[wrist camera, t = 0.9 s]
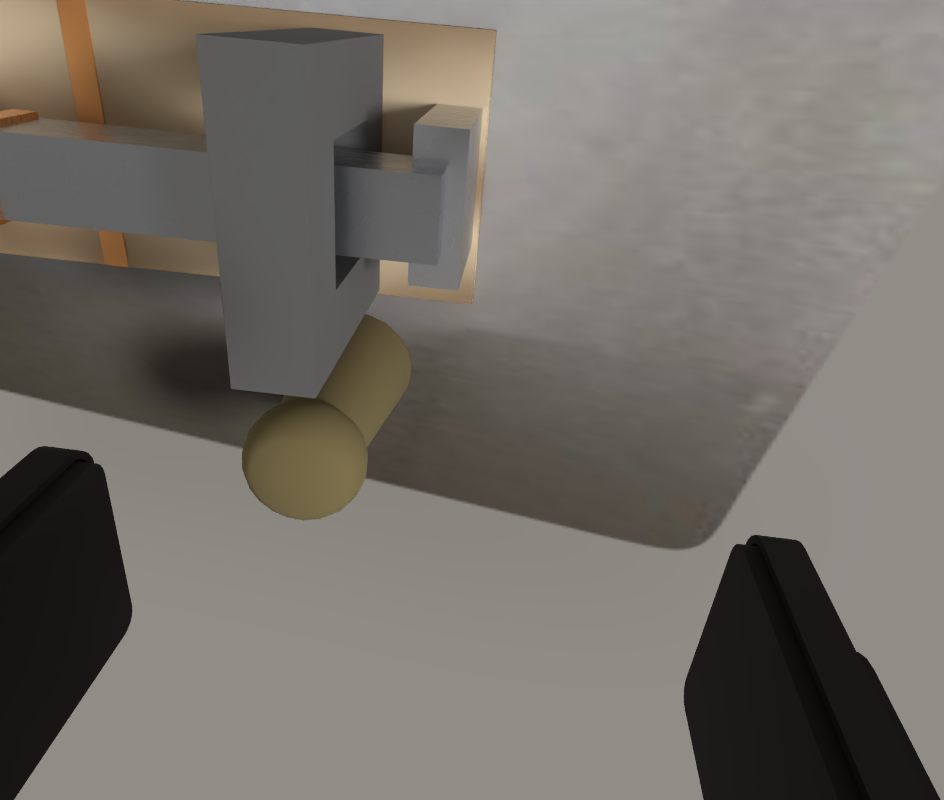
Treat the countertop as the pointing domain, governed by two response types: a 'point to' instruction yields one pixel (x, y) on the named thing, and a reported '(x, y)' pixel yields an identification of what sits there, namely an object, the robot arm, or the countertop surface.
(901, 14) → the countertop surface
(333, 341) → the slotted grey block
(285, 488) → the cork
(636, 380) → the countertop surface
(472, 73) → the board
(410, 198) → the grey blocky piece
